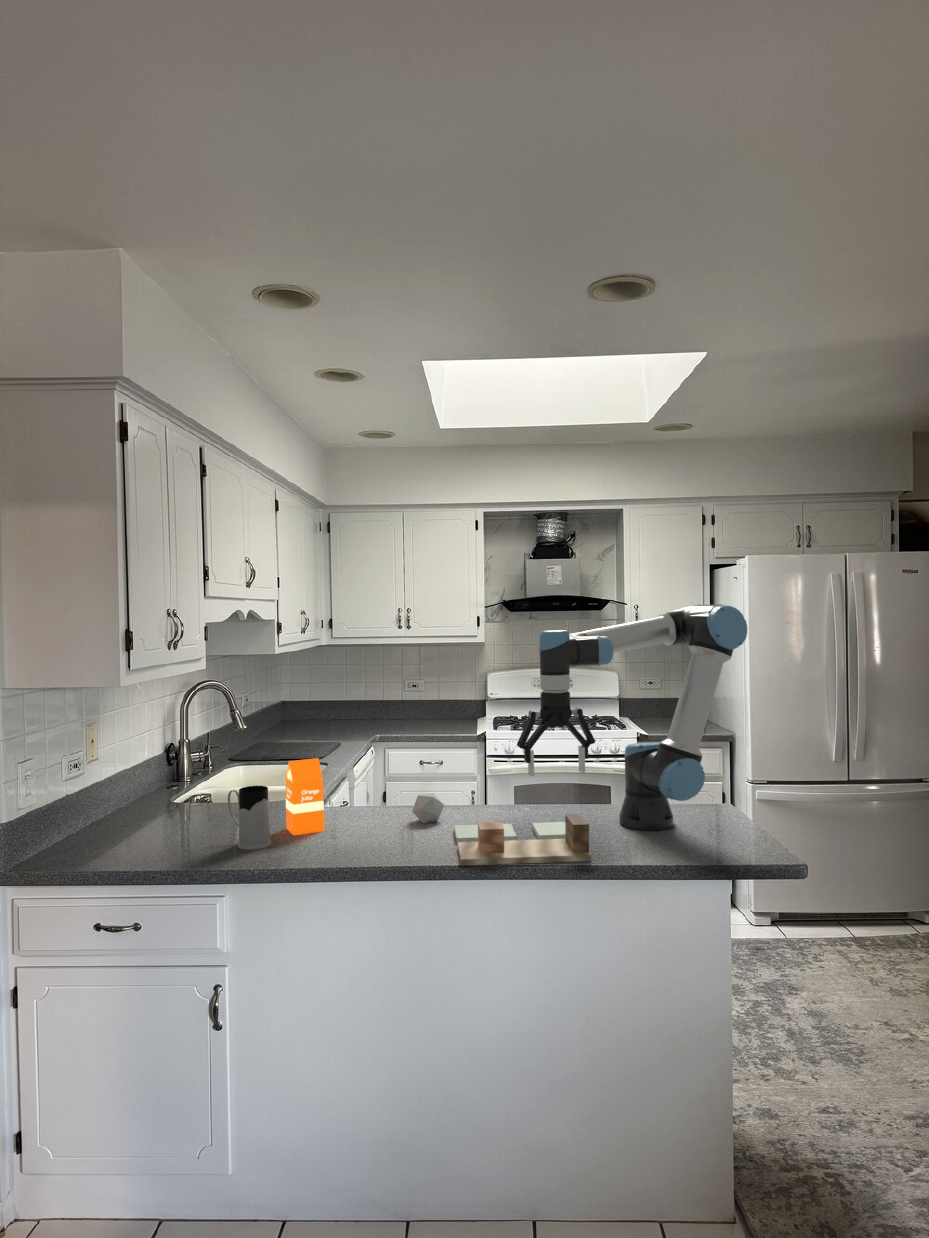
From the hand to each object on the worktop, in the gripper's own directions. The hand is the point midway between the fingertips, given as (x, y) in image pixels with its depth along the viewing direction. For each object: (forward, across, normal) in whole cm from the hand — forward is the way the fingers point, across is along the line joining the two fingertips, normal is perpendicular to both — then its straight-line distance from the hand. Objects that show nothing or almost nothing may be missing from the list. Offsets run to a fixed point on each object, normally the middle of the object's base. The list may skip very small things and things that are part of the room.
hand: (556, 773), depth 209 cm
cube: (+18, +18, 0) cm, 25 cm away
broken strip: (+20, +7, -16) cm, 26 cm away
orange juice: (+20, +63, -36) cm, 75 cm away
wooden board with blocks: (+20, +10, +1) cm, 22 cm away
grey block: (+20, +28, -36) cm, 50 cm away
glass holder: (+19, +78, -27) cm, 85 cm away
